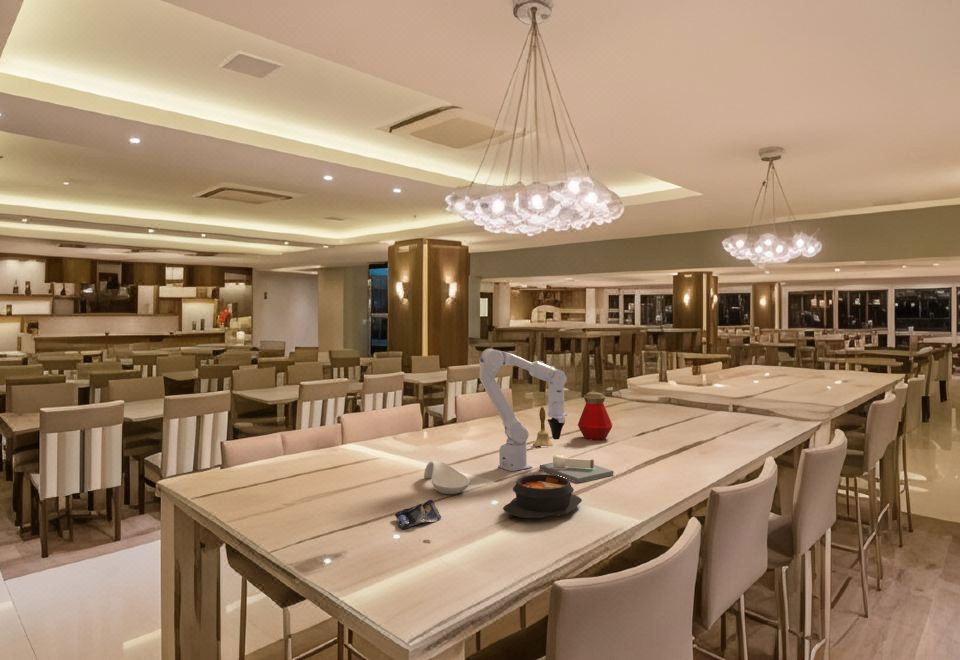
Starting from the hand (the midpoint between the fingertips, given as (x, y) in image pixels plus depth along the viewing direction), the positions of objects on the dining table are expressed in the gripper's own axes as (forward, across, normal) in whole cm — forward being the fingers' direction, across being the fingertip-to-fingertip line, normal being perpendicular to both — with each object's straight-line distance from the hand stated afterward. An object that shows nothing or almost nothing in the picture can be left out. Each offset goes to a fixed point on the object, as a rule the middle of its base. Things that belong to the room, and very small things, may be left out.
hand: (556, 439), depth 211 cm
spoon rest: (+10, -19, +44) cm, 49 cm away
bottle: (+9, +39, -30) cm, 50 cm away
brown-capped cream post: (+7, -12, -3) cm, 14 cm away
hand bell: (+10, +31, -4) cm, 33 cm away
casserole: (+10, -47, +18) cm, 51 cm away
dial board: (+9, -12, -4) cm, 15 cm away
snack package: (+10, -49, +54) cm, 74 cm away
